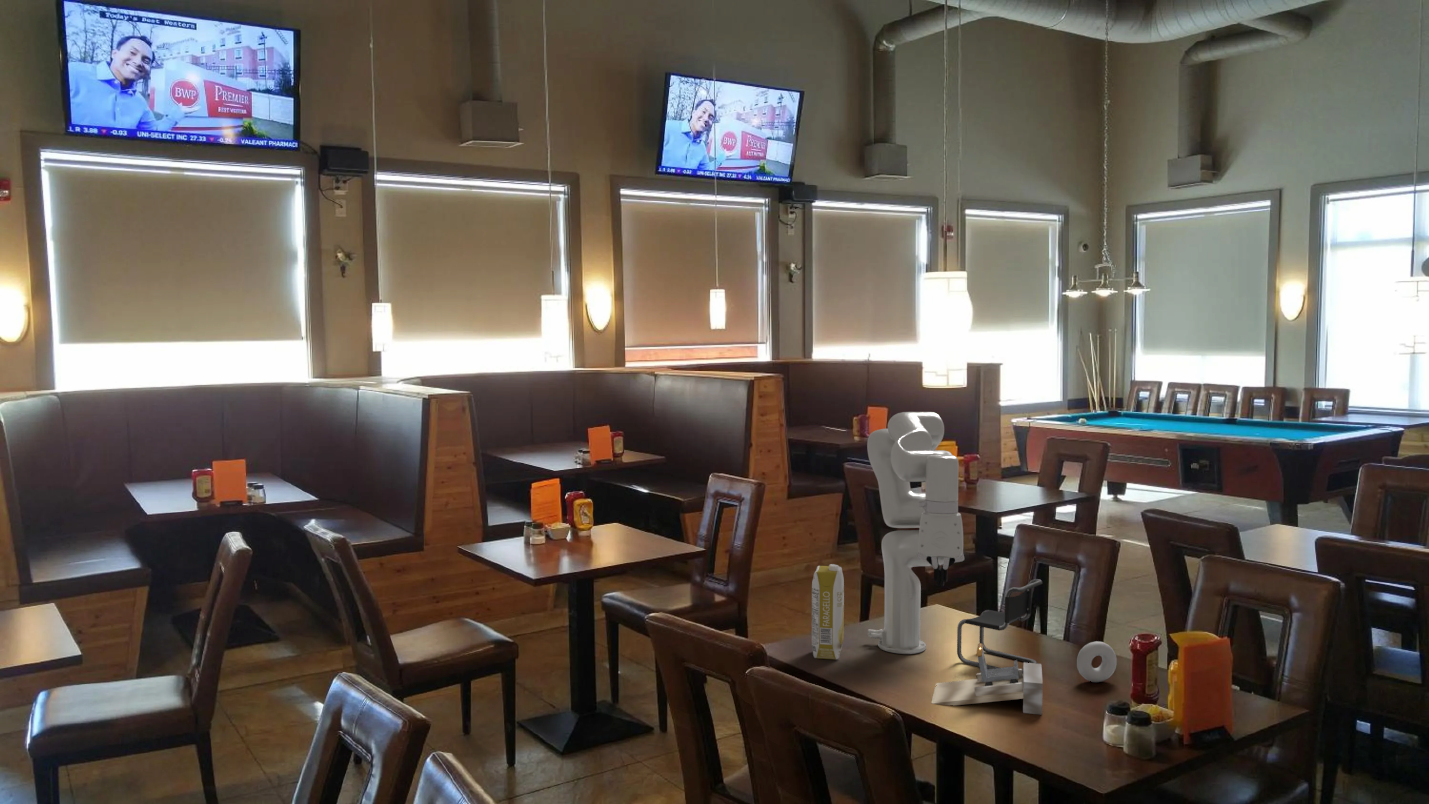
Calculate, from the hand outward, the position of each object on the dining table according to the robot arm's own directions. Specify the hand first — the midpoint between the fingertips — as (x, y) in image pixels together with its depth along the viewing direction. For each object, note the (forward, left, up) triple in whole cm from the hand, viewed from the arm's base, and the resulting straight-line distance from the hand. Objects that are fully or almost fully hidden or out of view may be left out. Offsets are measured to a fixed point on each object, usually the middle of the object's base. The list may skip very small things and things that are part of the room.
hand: (940, 584), depth 236 cm
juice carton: (-30, +18, -25) cm, 43 cm away
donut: (+36, +16, -25) cm, 47 cm away
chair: (+13, +24, -25) cm, 37 cm away
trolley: (+13, -3, -22) cm, 26 cm away
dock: (+11, -3, -26) cm, 28 cm away
